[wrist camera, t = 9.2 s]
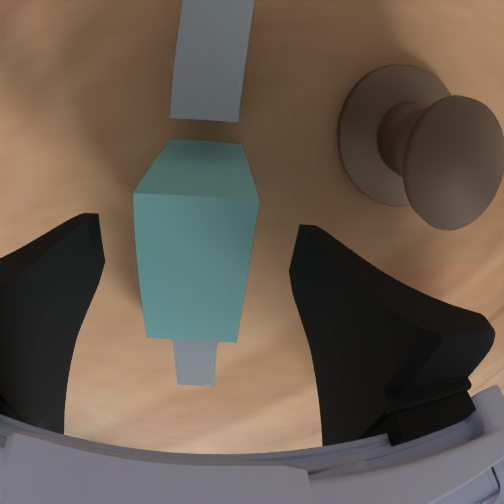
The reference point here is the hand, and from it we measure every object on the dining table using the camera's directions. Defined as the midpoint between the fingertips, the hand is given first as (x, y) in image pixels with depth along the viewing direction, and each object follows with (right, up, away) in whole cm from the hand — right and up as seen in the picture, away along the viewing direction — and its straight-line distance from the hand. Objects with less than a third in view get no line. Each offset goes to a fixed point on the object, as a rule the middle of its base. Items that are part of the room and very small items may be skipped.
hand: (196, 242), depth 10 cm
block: (0, +2, +3) cm, 4 cm away
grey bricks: (0, +2, +3) cm, 3 cm away
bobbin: (+9, +5, +2) cm, 11 cm away
